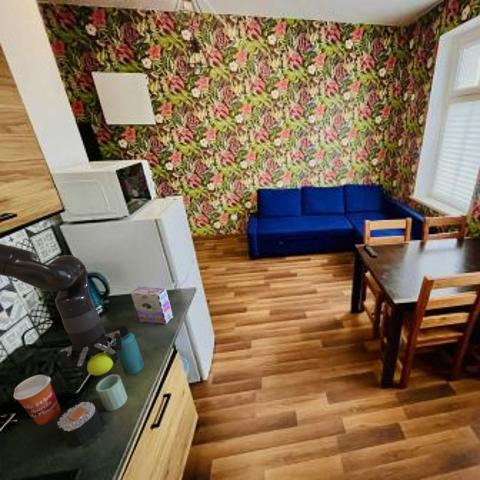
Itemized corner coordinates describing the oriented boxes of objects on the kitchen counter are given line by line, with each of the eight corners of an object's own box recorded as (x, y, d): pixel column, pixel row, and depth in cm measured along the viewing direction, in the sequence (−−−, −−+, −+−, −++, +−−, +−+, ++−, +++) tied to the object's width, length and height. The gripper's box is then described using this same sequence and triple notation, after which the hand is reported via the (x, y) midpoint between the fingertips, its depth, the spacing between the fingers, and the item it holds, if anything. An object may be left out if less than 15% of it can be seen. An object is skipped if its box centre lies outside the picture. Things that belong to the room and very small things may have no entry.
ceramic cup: (101, 413, 85) (92, 393, 81) (109, 395, 90) (101, 376, 87) (123, 408, 86) (115, 388, 83) (130, 391, 92) (123, 372, 88)
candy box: (174, 317, 128) (166, 288, 121) (166, 325, 122) (158, 295, 116) (147, 314, 129) (139, 285, 123) (138, 322, 124) (129, 292, 117)
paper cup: (32, 434, 79) (11, 401, 73) (30, 416, 83) (11, 384, 78) (67, 414, 84) (50, 383, 79) (63, 399, 89) (47, 368, 83)
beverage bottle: (149, 365, 102) (136, 323, 94) (135, 380, 96) (120, 337, 88) (134, 362, 103) (120, 321, 95) (120, 377, 97) (103, 334, 89)
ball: (86, 382, 79) (79, 366, 77) (96, 365, 85) (89, 350, 82) (111, 377, 81) (105, 361, 78) (119, 361, 86) (113, 346, 84)
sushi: (91, 413, 85) (83, 396, 81) (108, 424, 82) (100, 406, 78) (60, 438, 78) (50, 420, 75) (78, 451, 75) (68, 433, 72)
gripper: (114, 307, 82) (128, 348, 89) (51, 326, 74) (72, 369, 81) (114, 320, 77) (130, 363, 83) (46, 342, 69) (69, 387, 75)
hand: (101, 366), depth 82 cm, fingers closed on ball, 6 cm apart
